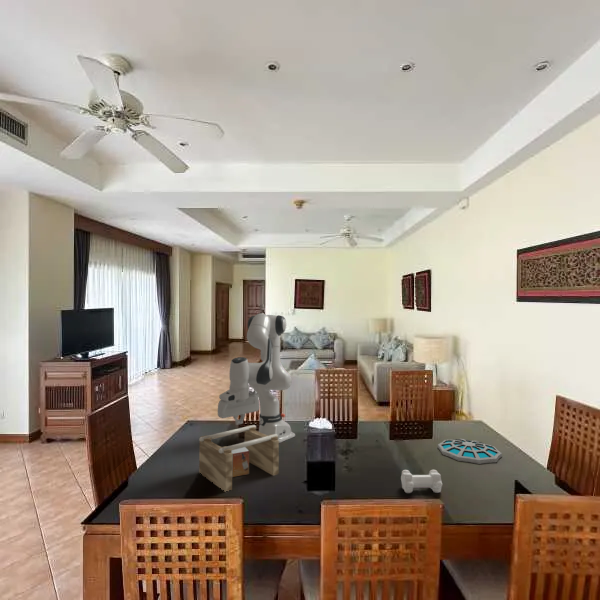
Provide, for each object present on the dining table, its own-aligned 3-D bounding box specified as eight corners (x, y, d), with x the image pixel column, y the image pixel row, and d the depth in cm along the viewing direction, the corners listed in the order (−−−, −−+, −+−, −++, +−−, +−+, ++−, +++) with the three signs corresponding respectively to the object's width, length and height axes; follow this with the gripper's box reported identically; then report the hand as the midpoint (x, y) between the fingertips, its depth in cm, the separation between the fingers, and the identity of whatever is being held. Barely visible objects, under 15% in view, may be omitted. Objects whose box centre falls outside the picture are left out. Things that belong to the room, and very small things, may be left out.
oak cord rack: (249, 458, 192) (249, 424, 192) (278, 473, 173) (278, 437, 174) (199, 472, 174) (199, 436, 175) (225, 492, 156) (225, 451, 156)
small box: (232, 477, 169) (232, 453, 170) (228, 472, 174) (228, 449, 175) (249, 474, 173) (249, 450, 173) (245, 469, 178) (245, 446, 178)
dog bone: (435, 487, 162) (434, 467, 163) (443, 495, 153) (442, 474, 154) (400, 487, 161) (399, 467, 162) (406, 495, 153) (405, 474, 154)
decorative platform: (459, 466, 182) (459, 456, 182) (427, 445, 211) (427, 436, 211) (515, 461, 189) (515, 451, 189) (476, 441, 217) (476, 432, 217)
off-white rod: (276, 437, 178) (276, 433, 178) (278, 438, 176) (278, 434, 176) (217, 453, 158) (217, 448, 158) (220, 454, 157) (220, 449, 157)
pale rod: (254, 428, 191) (254, 424, 191) (256, 429, 190) (256, 425, 190) (198, 441, 172) (198, 437, 172) (200, 442, 171) (200, 438, 171)
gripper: (254, 389, 184) (254, 418, 183) (215, 395, 170) (215, 427, 170) (262, 391, 179) (262, 421, 179) (222, 398, 166) (222, 430, 165)
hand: (239, 424), depth 174 cm, fingers closed
